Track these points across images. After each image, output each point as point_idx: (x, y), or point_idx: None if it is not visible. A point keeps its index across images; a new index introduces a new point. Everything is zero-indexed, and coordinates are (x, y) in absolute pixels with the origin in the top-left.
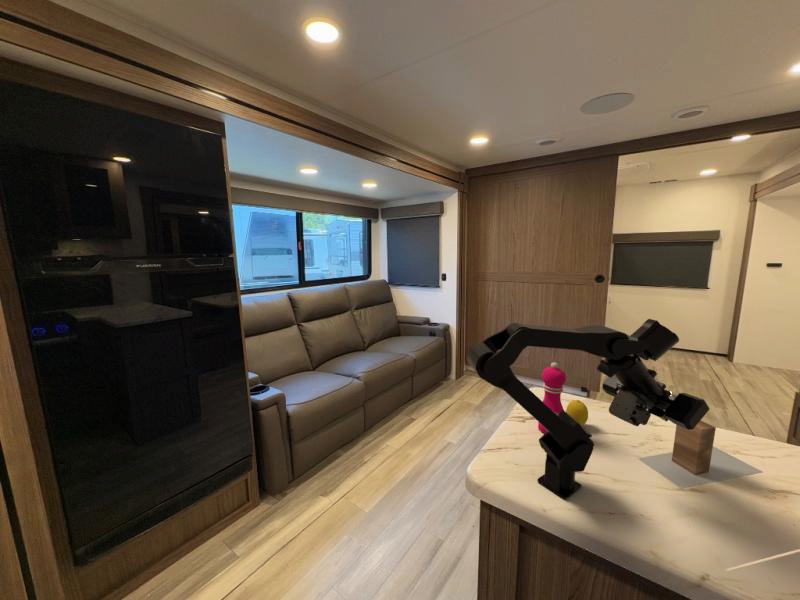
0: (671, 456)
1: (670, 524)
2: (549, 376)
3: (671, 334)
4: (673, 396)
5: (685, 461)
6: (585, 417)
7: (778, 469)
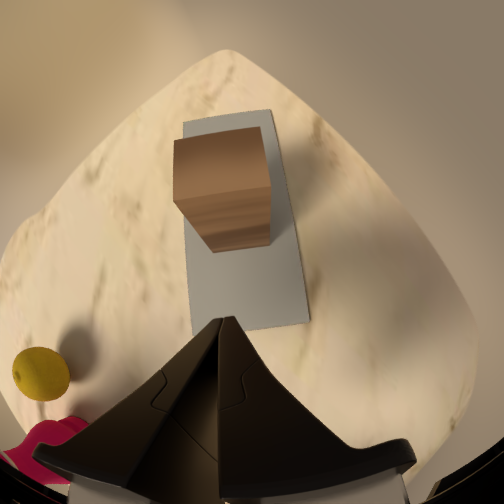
0: (198, 238)
1: (385, 417)
2: None
3: None
4: (370, 477)
5: (244, 243)
6: (57, 373)
7: (262, 85)
